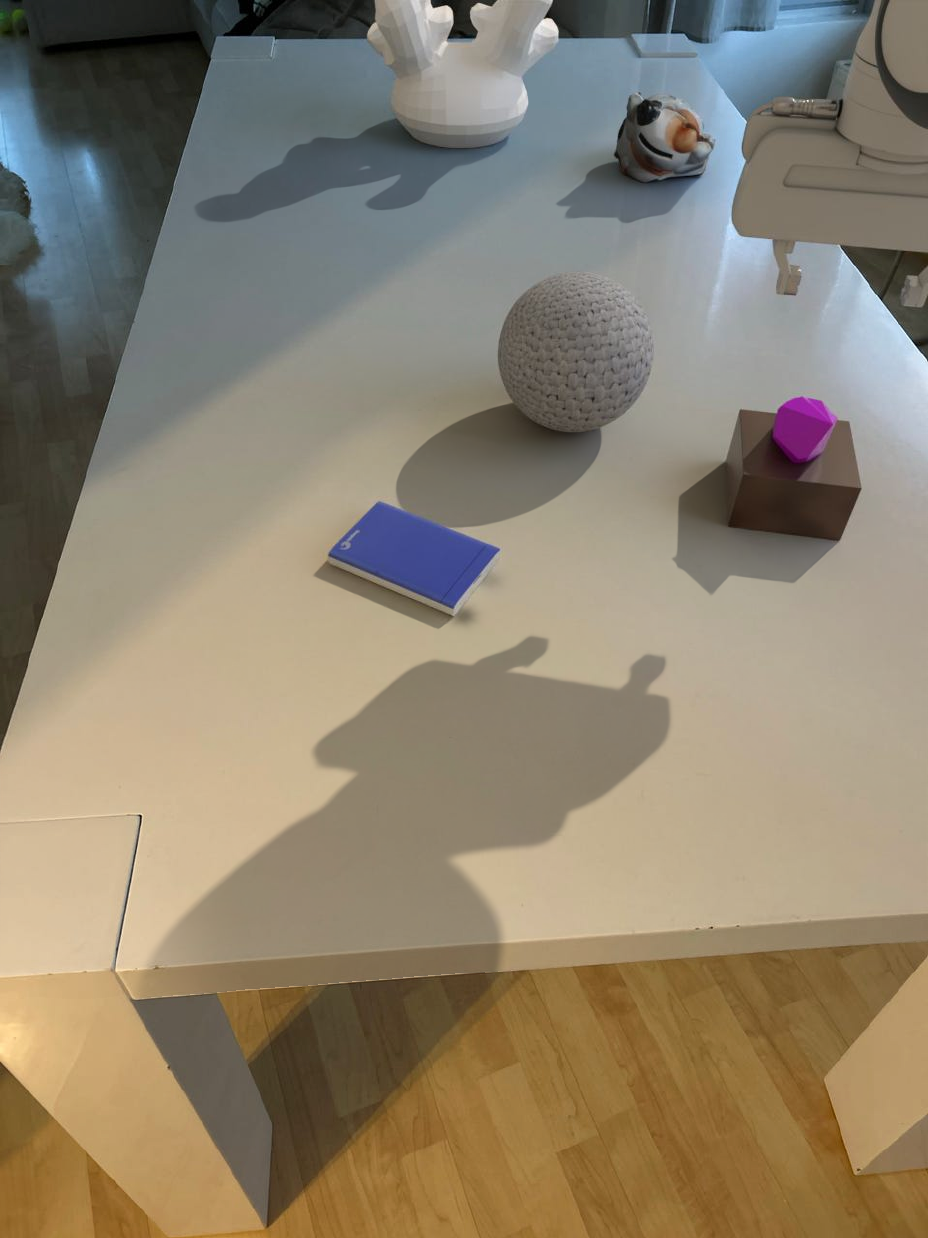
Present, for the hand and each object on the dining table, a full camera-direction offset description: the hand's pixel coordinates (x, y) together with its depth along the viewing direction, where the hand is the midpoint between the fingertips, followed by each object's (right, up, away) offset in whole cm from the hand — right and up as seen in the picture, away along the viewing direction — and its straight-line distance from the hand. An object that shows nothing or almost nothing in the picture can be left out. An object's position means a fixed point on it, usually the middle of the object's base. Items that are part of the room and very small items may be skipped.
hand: (847, 297), depth 74 cm
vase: (-30, +52, +77) cm, 98 cm away
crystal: (0, -10, +11) cm, 15 cm away
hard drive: (-34, -20, +9) cm, 41 cm away
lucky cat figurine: (0, +41, +67) cm, 78 cm away
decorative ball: (-19, -5, +24) cm, 31 cm away
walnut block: (0, -14, +15) cm, 21 cm away
